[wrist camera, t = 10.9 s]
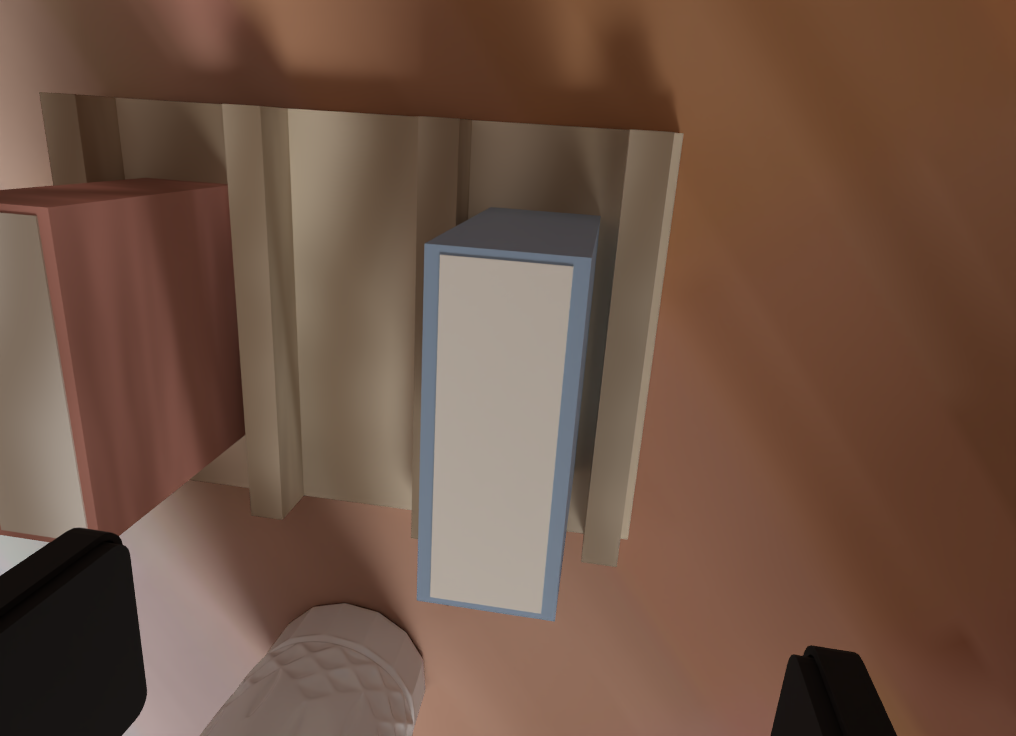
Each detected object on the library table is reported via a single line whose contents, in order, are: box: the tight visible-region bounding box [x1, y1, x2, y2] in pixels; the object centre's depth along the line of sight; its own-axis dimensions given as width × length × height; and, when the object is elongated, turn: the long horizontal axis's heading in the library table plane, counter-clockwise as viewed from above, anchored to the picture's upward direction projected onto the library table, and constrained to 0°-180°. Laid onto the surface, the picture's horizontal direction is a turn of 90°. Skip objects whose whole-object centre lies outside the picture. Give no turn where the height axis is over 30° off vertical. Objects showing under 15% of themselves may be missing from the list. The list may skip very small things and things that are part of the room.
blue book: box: [417, 207, 601, 621], centre depth 19 cm, size 4×9×8 cm, turn 176°
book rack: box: [0, 92, 683, 567], centre depth 21 cm, size 20×14×9 cm
